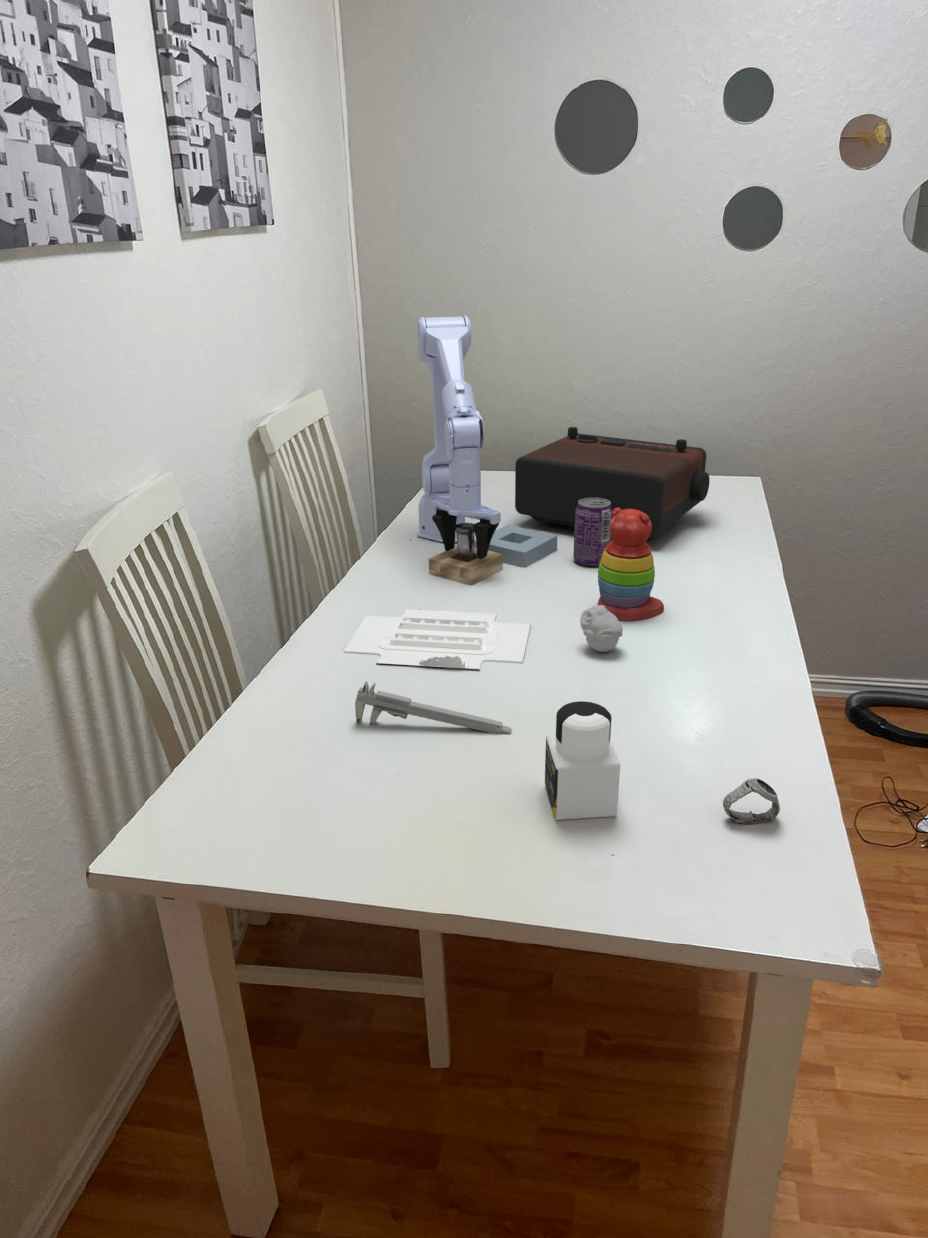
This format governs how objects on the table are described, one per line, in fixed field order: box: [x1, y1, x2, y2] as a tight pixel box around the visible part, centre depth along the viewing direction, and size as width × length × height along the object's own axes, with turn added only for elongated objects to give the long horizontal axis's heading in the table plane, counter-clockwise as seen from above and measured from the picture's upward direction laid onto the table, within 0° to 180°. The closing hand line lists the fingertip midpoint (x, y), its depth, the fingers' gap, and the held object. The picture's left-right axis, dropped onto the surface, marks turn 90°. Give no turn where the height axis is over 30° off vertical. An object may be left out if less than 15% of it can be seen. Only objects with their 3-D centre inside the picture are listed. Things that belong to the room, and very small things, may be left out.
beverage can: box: [572, 498, 613, 567], centre depth 171 cm, size 7×7×12 cm
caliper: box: [354, 680, 513, 735], centre depth 117 cm, size 21×1×6 cm, turn 82°
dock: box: [474, 524, 558, 568], centre depth 179 cm, size 12×12×3 cm
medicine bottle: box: [544, 700, 621, 821], centre depth 101 cm, size 7×7×12 cm
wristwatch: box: [722, 777, 781, 826], centre depth 99 cm, size 4×6×5 cm, turn 95°
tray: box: [343, 609, 531, 671], centre depth 143 cm, size 20×28×4 cm
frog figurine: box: [579, 604, 624, 653], centre depth 137 cm, size 6×7×7 cm
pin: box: [455, 522, 475, 562], centre depth 168 cm, size 4×4×8 cm
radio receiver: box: [514, 426, 710, 541], centre depth 192 cm, size 35×27×18 cm
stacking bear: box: [596, 508, 665, 621], centre depth 149 cm, size 11×10×18 cm
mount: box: [428, 545, 504, 586], centre depth 169 cm, size 10×10×3 cm
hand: (465, 553), depth 169 cm, fingers open, 7 cm apart
